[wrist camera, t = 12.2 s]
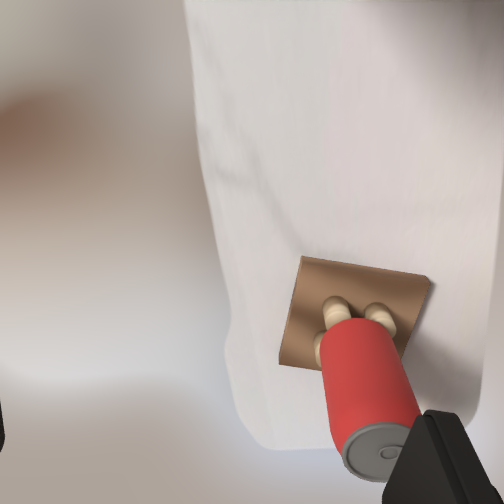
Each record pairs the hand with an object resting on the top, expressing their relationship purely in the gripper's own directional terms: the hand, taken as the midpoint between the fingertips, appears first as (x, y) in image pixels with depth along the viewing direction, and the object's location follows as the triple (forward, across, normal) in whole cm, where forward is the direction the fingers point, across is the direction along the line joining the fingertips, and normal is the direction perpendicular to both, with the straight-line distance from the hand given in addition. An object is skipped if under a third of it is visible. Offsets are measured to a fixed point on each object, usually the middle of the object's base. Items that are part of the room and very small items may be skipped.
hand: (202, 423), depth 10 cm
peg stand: (+30, -12, +16) cm, 36 cm away
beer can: (+26, -12, +16) cm, 33 cm away
